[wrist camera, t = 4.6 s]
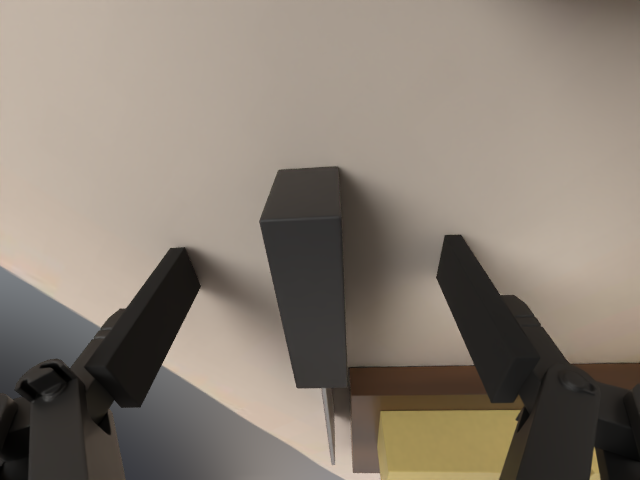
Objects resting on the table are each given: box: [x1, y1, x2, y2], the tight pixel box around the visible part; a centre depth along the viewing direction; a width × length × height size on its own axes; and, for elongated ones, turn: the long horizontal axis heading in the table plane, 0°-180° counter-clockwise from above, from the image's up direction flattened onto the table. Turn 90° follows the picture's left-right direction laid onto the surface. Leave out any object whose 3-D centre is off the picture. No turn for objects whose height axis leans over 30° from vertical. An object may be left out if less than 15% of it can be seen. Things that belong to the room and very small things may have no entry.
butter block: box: [377, 410, 521, 480], centre depth 20 cm, size 6×10×4 cm, turn 94°
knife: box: [259, 167, 348, 465], centre depth 17 cm, size 22×3×4 cm, turn 4°
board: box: [349, 363, 640, 473], centre depth 24 cm, size 14×20×2 cm
